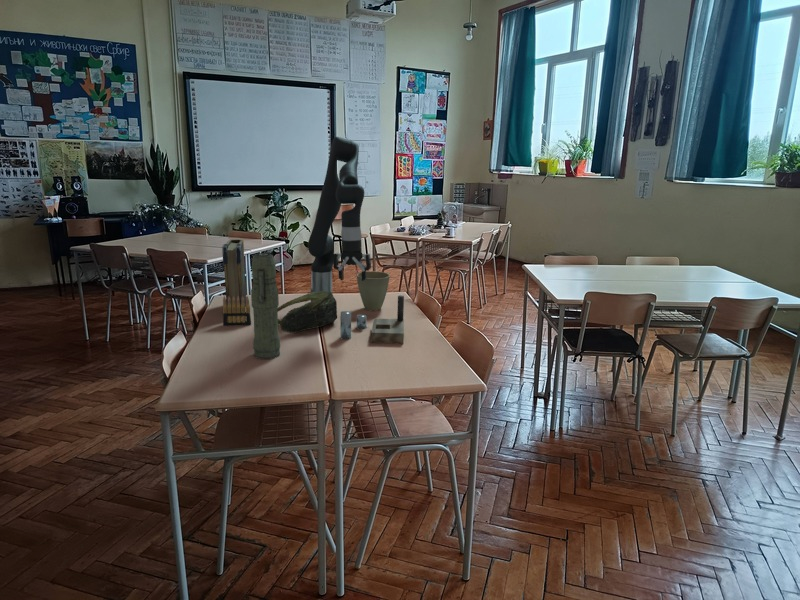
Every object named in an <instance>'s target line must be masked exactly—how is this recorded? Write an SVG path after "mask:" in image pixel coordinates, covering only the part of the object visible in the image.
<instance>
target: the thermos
mask: <svg viewBox="0 0 800 600" xmlns="http://www.w3.org/2000/svg"><path fill="white" fill-rule="evenodd" d="M276 267H277V266H276V260H275V258H274V255H273V254H271V253H269V252H260V253H259V252H258V253H256V254H253V258H252V261H251V276H252V287H251V290H250V296H251V297H250V299H251V307H252V310H253V311H252V312H253V331H254V332H253V333H254V335H253V340H252V346H253V347H252V348H253V353H254V354H253V356H254V357H255V358H256V359H259V358H260V359H259V360H272V359H275V357H276V358H278V357H279V356H280V355H281V352H280V350H281V338H280V333H279V324H278V319H279V318H278V317H279V316H278V313H279V311H278V312H277V308H278V307H279V299H280V298H279V288H278V285H277V280H276V277H277V271H276V269H277V268H276ZM271 358H272V359H271Z"/></svg>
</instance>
